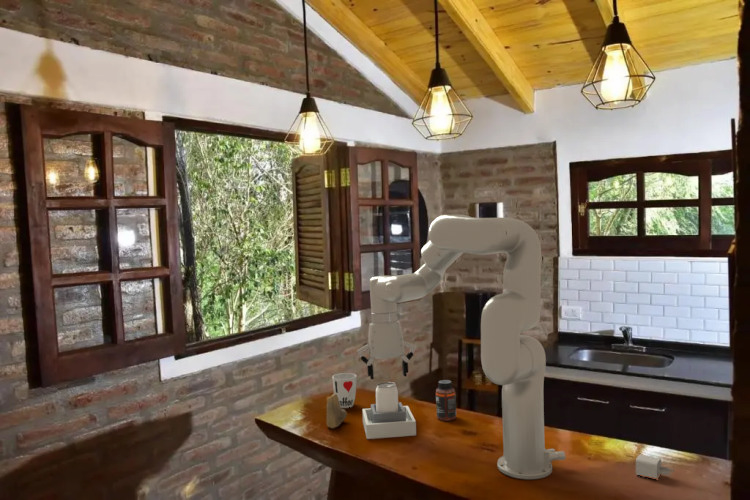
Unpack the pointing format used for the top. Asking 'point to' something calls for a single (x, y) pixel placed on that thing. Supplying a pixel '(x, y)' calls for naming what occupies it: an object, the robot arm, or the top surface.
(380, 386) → the can
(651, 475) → the usb wall charger
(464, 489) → the top surface
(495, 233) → the robot arm
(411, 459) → the top surface
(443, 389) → the supplement bottle
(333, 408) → the stone
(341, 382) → the cup
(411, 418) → the inlet box
